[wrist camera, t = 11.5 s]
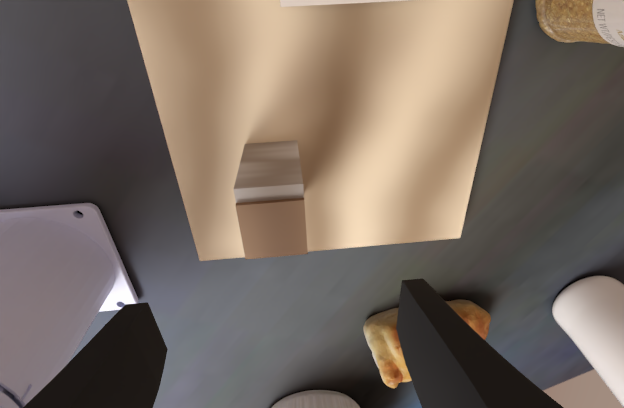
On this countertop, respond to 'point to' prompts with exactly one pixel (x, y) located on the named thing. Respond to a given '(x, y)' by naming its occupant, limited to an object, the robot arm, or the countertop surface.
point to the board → (326, 109)
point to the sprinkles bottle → (582, 20)
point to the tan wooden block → (271, 200)
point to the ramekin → (317, 400)
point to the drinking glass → (596, 325)
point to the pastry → (387, 343)
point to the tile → (326, 2)
